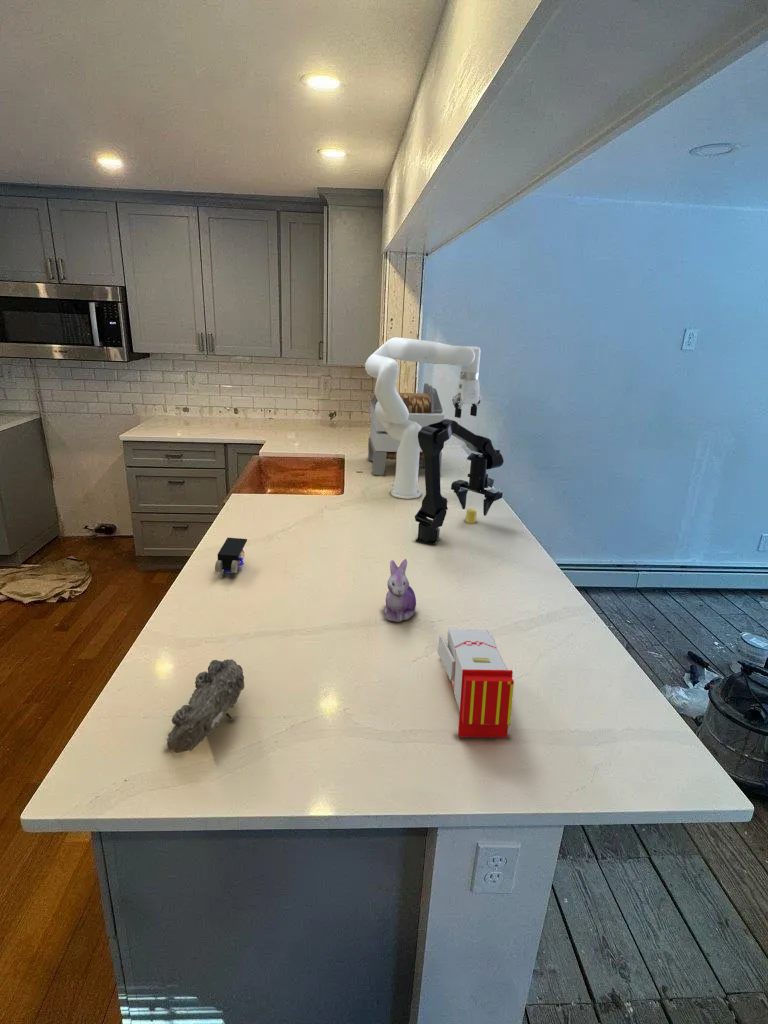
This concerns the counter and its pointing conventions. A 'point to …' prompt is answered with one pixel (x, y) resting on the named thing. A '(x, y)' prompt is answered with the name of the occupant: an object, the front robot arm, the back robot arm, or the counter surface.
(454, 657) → the toy
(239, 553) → the black toy car
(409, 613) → the figurine
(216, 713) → the fossil
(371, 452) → the grey crate stand
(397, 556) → the counter surface
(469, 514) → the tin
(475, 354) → the back robot arm
